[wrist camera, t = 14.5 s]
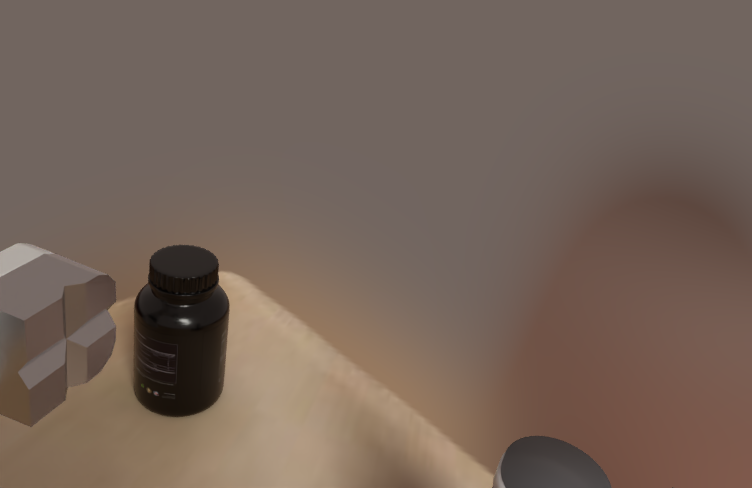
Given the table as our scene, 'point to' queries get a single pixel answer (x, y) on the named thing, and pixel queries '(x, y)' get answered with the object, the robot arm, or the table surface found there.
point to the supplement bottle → (180, 333)
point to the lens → (547, 466)
